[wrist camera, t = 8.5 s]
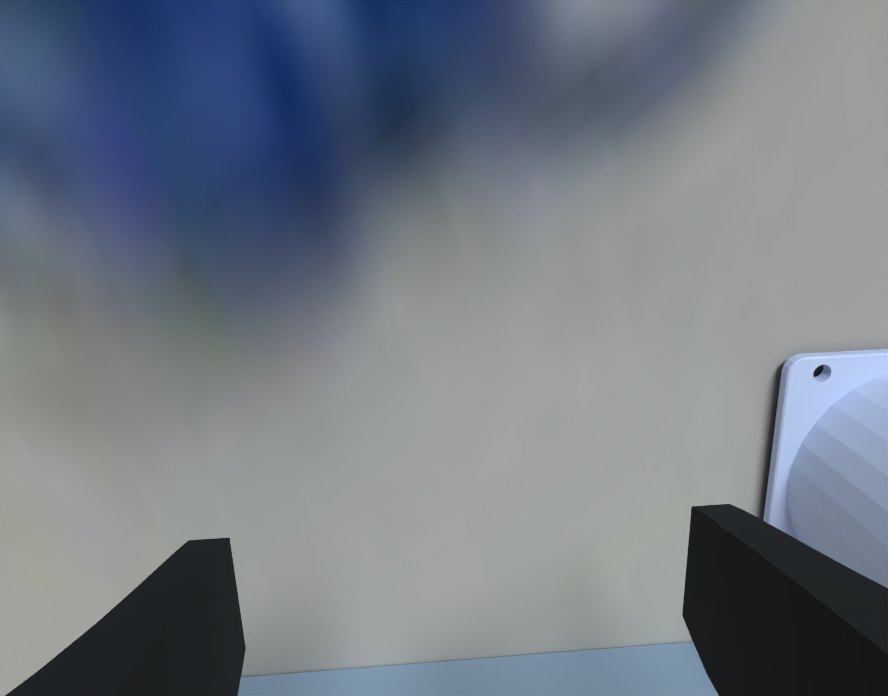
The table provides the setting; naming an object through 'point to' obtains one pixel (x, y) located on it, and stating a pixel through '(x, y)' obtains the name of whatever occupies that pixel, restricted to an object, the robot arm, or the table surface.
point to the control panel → (510, 676)
